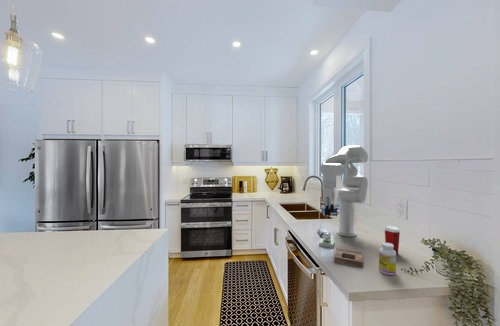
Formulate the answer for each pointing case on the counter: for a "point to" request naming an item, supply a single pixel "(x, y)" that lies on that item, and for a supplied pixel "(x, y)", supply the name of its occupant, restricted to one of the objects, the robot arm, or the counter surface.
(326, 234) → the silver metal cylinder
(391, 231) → the paper cup
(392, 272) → the supplement bottle
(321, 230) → the torpedo
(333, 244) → the tab
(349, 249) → the walnut flange plate
